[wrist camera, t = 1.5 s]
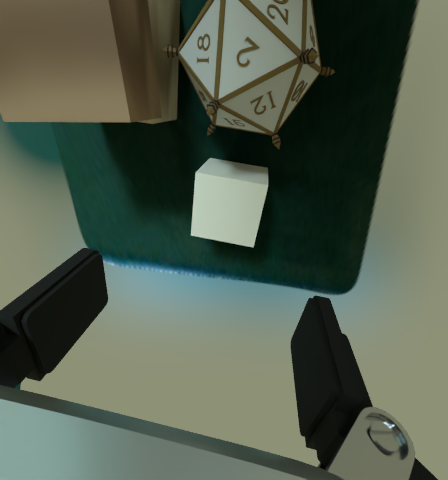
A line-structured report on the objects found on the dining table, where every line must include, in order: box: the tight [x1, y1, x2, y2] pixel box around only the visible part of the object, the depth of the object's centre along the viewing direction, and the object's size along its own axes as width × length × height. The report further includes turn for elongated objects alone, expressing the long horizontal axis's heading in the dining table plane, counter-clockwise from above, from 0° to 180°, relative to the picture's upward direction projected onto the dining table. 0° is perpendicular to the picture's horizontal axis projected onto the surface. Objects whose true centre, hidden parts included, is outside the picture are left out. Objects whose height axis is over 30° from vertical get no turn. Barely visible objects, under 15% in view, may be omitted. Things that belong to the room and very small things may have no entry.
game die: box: [161, 0, 335, 149], centre depth 13 cm, size 9×8×10 cm
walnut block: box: [0, 0, 162, 122], centre depth 12 cm, size 7×7×4 cm
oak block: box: [137, 0, 180, 124], centre depth 16 cm, size 7×7×5 cm
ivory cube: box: [191, 158, 268, 248], centre depth 19 cm, size 5×5×5 cm
